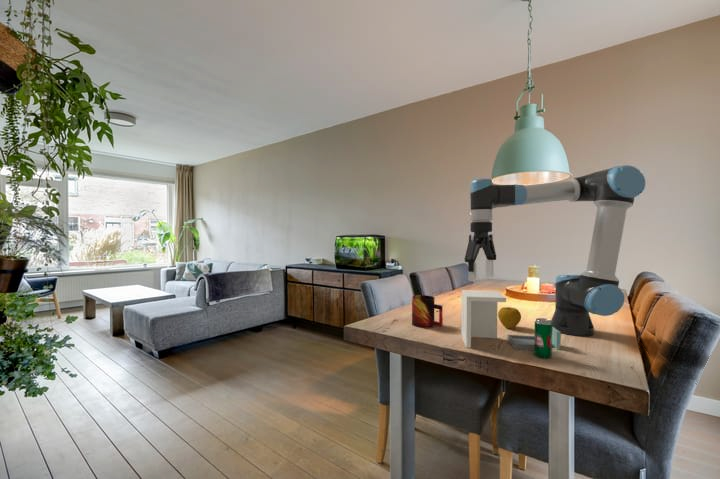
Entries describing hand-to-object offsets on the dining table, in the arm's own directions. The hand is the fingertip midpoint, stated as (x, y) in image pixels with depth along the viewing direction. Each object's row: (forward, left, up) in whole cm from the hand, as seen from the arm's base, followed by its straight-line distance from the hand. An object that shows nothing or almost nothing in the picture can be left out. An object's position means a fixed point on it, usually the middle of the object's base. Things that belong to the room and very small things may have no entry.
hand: (481, 278), depth 121 cm
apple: (-15, -20, -23) cm, 34 cm away
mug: (+19, -18, -23) cm, 35 cm away
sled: (-18, +2, -23) cm, 29 cm away
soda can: (-17, +12, -23) cm, 31 cm away
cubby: (0, +2, -23) cm, 23 cm away
